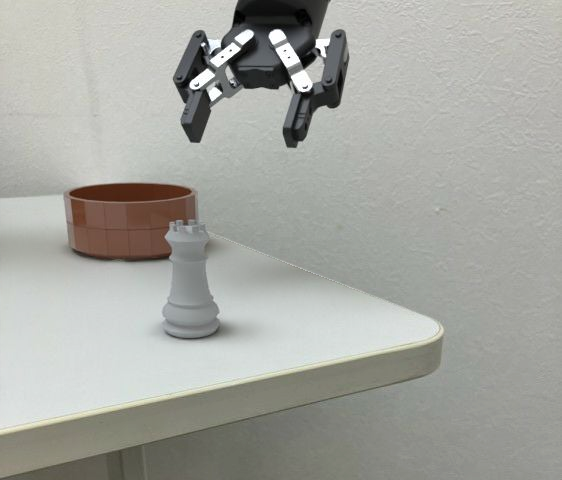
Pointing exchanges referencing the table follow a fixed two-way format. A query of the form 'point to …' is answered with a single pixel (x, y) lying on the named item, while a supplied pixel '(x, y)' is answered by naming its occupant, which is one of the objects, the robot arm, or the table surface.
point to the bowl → (127, 218)
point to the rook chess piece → (189, 284)
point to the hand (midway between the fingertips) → (238, 138)
